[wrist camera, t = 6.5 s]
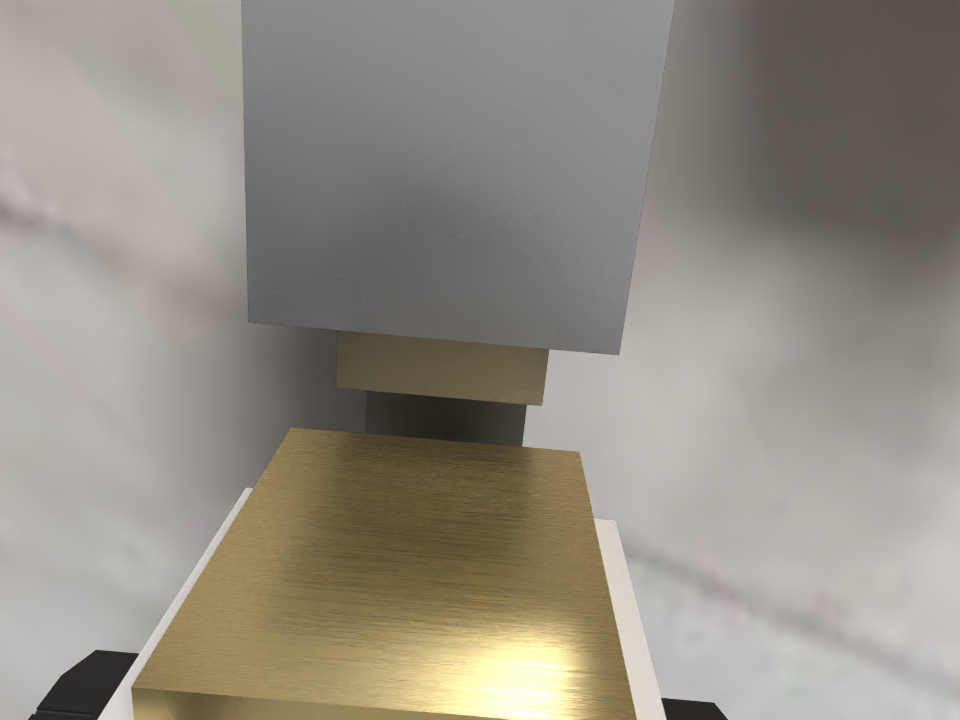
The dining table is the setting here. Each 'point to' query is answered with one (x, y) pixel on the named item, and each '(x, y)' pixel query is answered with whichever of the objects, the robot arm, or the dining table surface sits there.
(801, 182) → the dining table surface
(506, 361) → the rack rail
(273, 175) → the plain grey cube
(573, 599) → the unfinished wooden cube
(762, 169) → the dining table surface
